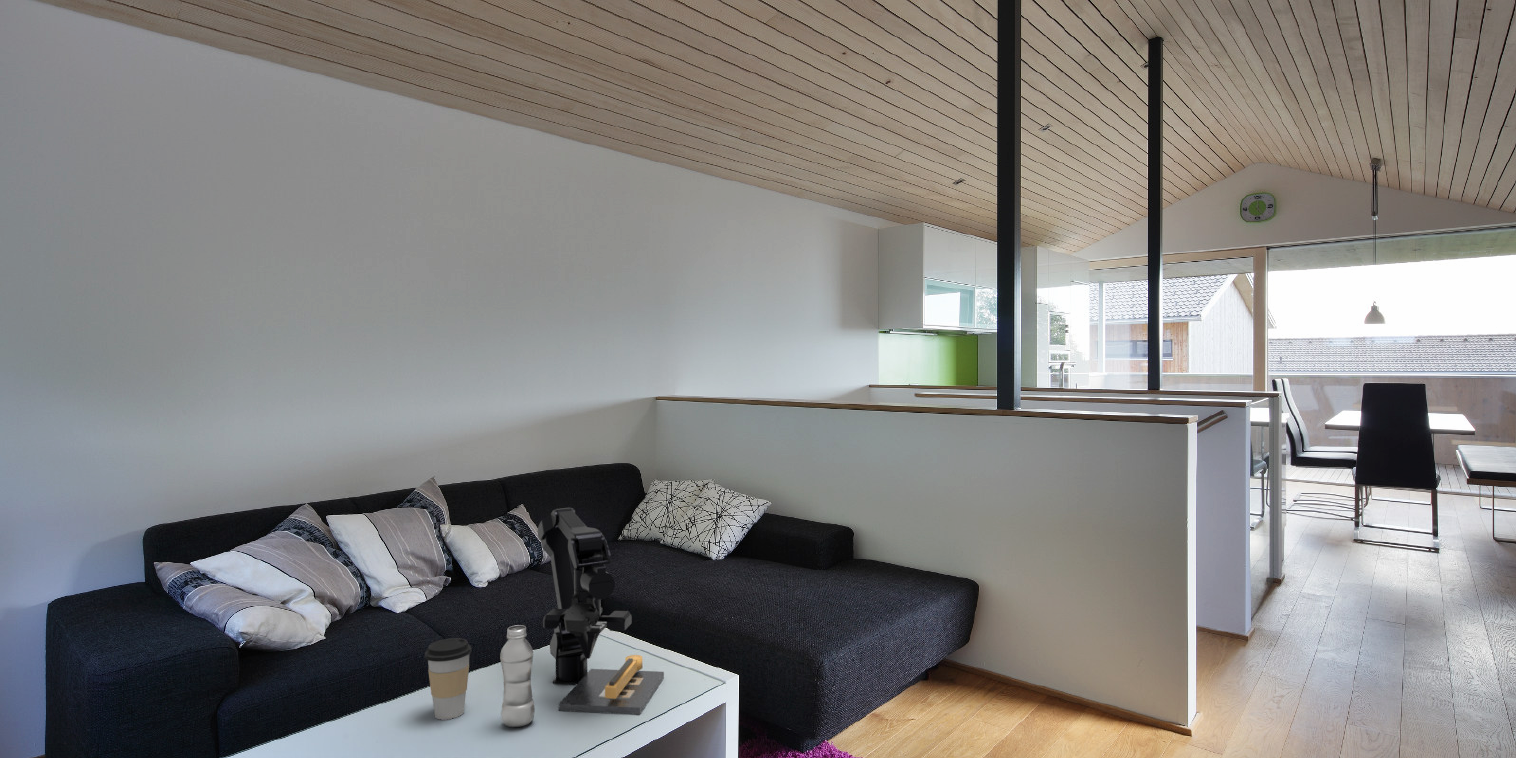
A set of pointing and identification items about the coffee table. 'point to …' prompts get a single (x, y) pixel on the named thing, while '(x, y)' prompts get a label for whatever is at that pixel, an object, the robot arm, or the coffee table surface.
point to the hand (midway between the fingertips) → (588, 658)
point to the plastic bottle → (517, 678)
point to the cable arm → (623, 676)
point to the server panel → (629, 701)
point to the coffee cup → (448, 676)
